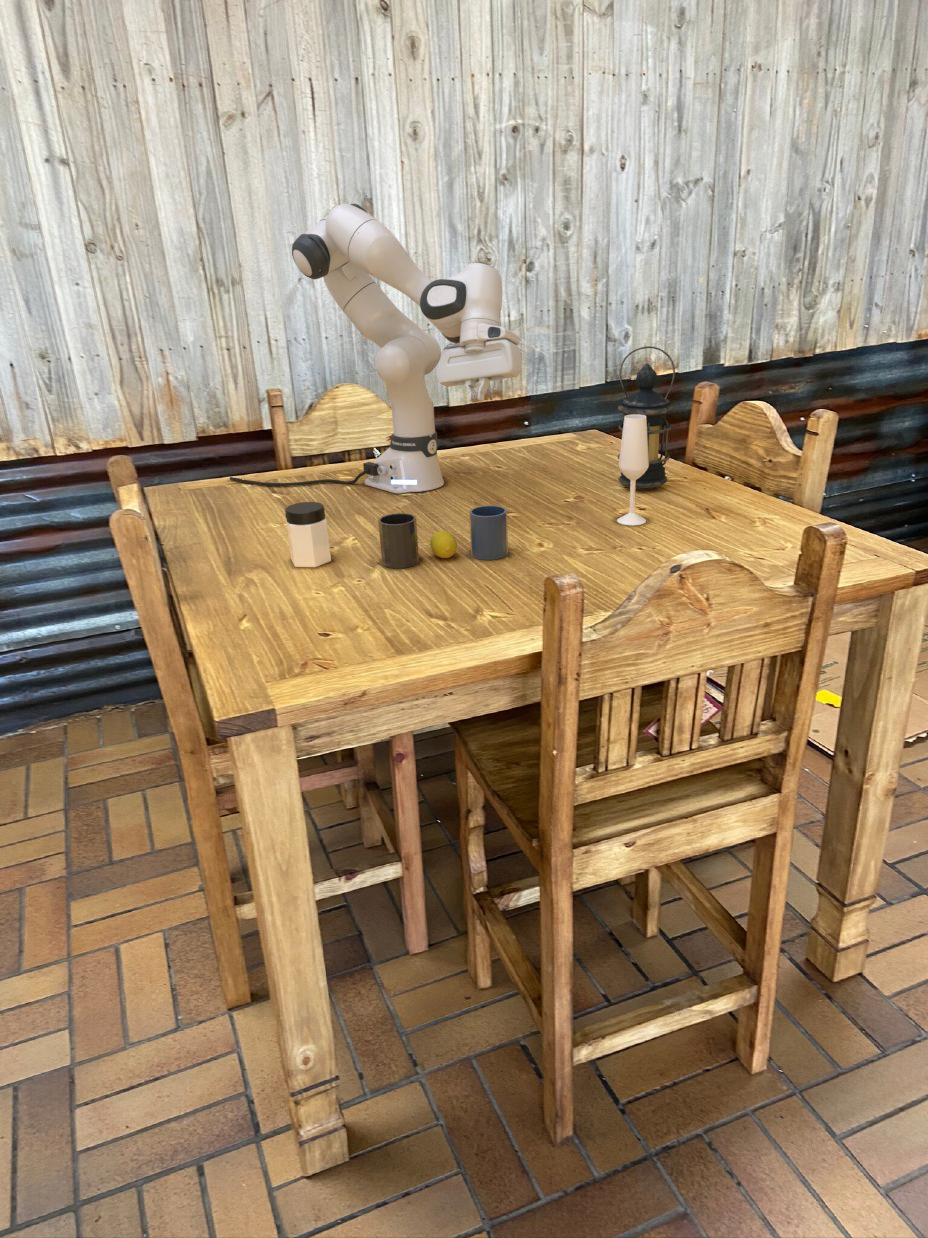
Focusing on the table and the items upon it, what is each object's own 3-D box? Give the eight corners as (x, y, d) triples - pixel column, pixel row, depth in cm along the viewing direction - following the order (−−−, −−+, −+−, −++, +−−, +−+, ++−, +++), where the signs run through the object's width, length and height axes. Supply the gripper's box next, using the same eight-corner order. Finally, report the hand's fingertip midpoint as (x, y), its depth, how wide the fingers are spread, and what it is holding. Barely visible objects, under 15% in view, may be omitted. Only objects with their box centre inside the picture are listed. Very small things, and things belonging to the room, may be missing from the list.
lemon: (447, 522, 190) (457, 534, 183) (453, 546, 193) (463, 558, 186) (423, 530, 189) (432, 542, 182) (429, 554, 192) (439, 566, 185)
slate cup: (464, 556, 188) (462, 513, 185) (485, 545, 194) (483, 503, 190) (494, 562, 184) (492, 518, 180) (515, 551, 190) (513, 508, 186)
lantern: (606, 490, 228) (609, 349, 213) (626, 477, 238) (630, 342, 223) (659, 497, 220) (666, 351, 206) (678, 483, 231) (685, 344, 216)
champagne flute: (650, 517, 206) (654, 414, 196) (641, 526, 201) (645, 420, 191) (622, 514, 209) (625, 412, 199) (612, 523, 204) (615, 418, 194)
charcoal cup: (374, 564, 186) (370, 521, 182) (398, 553, 192) (395, 511, 188) (402, 571, 182) (399, 527, 178) (426, 559, 188) (423, 516, 184)
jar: (314, 551, 196) (308, 498, 191) (339, 558, 191) (333, 504, 186) (282, 563, 189) (275, 509, 184) (307, 571, 184) (300, 515, 180)
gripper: (433, 341, 198) (430, 402, 198) (511, 327, 186) (507, 392, 186) (450, 349, 203) (446, 409, 203) (526, 336, 191) (523, 399, 191)
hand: (476, 401), depth 194 cm, fingers closed
